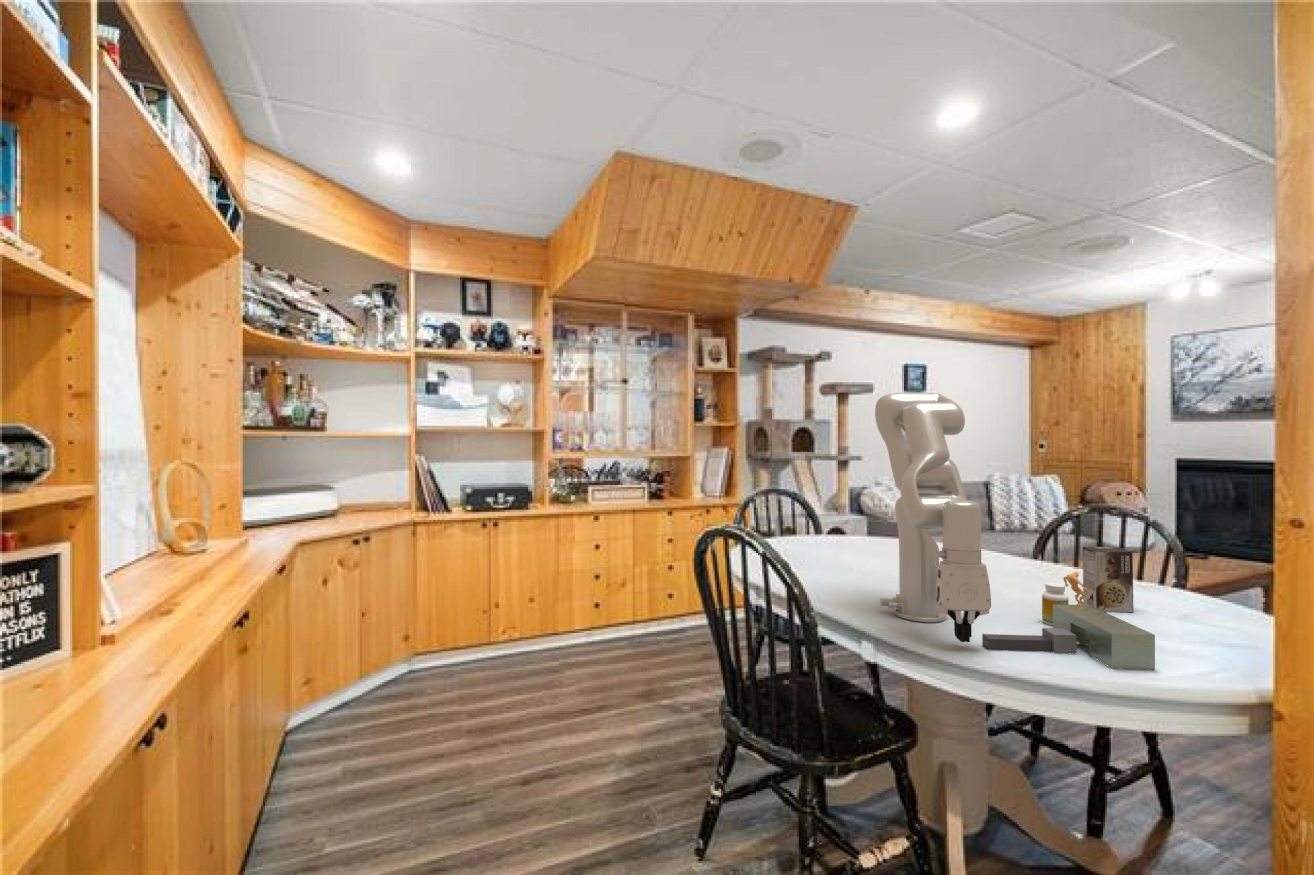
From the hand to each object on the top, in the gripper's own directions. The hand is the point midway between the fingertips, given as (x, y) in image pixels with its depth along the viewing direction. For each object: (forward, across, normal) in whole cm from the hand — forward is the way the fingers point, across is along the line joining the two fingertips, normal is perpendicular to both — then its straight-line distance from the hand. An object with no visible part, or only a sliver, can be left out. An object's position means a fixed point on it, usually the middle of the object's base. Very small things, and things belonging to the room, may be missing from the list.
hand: (962, 640), depth 126 cm
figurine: (+1, +38, +23) cm, 44 cm away
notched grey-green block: (+2, +28, +1) cm, 29 cm away
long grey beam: (+2, +14, +1) cm, 14 cm away
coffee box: (+1, +50, +33) cm, 60 cm away
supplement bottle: (+2, +30, +19) cm, 35 cm away
